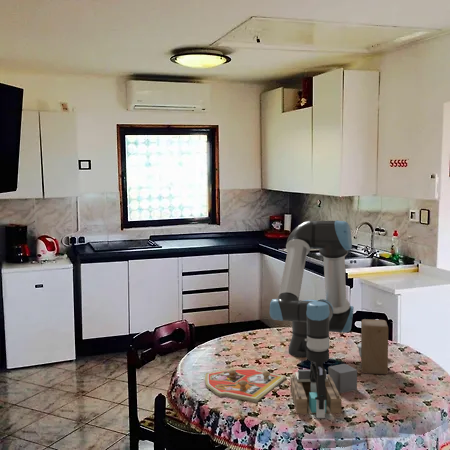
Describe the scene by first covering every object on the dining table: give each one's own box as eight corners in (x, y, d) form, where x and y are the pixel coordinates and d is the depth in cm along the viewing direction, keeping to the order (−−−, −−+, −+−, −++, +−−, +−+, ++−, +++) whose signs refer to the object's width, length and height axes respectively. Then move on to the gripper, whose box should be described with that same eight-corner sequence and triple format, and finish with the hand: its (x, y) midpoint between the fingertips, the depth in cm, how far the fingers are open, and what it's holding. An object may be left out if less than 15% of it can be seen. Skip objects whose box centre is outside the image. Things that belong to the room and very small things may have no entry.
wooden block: (387, 375, 219) (388, 326, 217) (361, 373, 221) (362, 325, 219) (385, 366, 229) (386, 319, 227) (360, 365, 231) (361, 318, 229)
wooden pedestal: (290, 392, 205) (290, 375, 204) (331, 391, 204) (331, 374, 204) (296, 415, 186) (296, 396, 185) (341, 414, 185) (341, 395, 185)
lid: (295, 374, 207) (295, 364, 206) (324, 374, 206) (324, 363, 206) (297, 381, 200) (297, 371, 199) (327, 381, 200) (327, 370, 199)
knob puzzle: (256, 405, 195) (256, 393, 194) (186, 390, 209) (185, 379, 208) (288, 377, 220) (288, 366, 219) (223, 365, 234) (223, 355, 234)
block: (309, 406, 191) (309, 392, 191) (323, 406, 191) (323, 392, 190) (311, 412, 186) (311, 398, 186) (326, 412, 186) (326, 398, 185)
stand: (328, 387, 208) (328, 366, 208) (344, 383, 211) (344, 363, 211) (340, 394, 202) (340, 373, 201) (356, 390, 205) (357, 369, 204)
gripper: (301, 336, 199) (301, 394, 201) (312, 360, 174) (311, 425, 176) (322, 336, 199) (322, 393, 201) (335, 360, 174) (335, 425, 176)
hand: (317, 408), depth 188 cm, fingers open, 13 cm apart
